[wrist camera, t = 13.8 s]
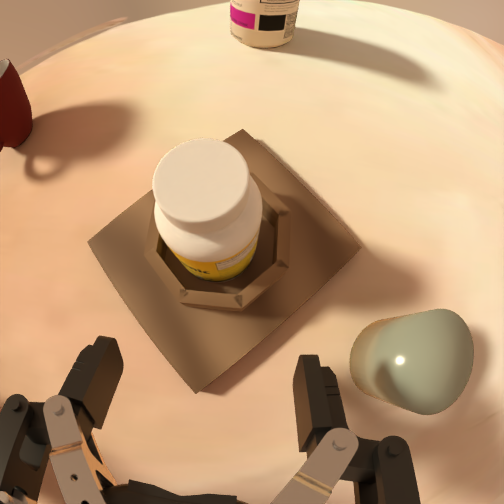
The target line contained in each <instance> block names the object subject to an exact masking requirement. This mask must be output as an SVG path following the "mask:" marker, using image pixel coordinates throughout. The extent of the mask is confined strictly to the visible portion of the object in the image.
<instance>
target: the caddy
mask: <svg viewBox="0 0 504 504" xmlns="http://www.w3.org/2000/svg"><path fill="white" fill-rule="evenodd" d="M223 142H226V143H228V144H230V145H231V146H233V147H234V148H235V149H237V150H238V151H239V152H240V153H241V155H242V156H243V157H244V159H245V161H246V163H247V165H248V169H249V173H250V176H251V177H252V178H253V180H254V181H255V183H256V184H257V186H258V189H259V191H260V194H261V198H262V218H261V224H260V230H259V235H258V240H257V246H256V251H255V255H254V258H253V260H252V262H251V264H250V265H249V266H248V268H247V269H246V270H245V271H244V272H243V273H242V274H241V275H239V276H238V277H236V278H234V279H232V280H229V281H226V282H220V283H213V282H207V281H204V280H201V279H199V278H197V277H196V276H194V275H193V274H192V273H190V272H189V271H188V270H187V269H186V267H185V266H184V265H183V264H182V263H181V262H180V260H179V259H178V258H177V257H176V256H175V254H174V253H173V252H172V251H171V249H170V248H169V247H168V246H167V244H166V243H165V241H164V240H163V238H162V237H161V235H160V233H159V231H158V229H157V226H156V222H155V215H154V208H155V201H156V200H155V197H154V194H153V189H152V190H151V191H150V192H148V193H147V194H146V195H144V196H143V197H142V198H140V199H139V200H138V201H136V202H135V203H134V204H133V205H131V206H130V207H129V208H127V209H126V210H125V211H124V212H122V213H121V214H120V215H119V216H117V217H116V218H115V219H114V220H113V221H111V222H110V223H109V224H108V225H107V226H105V227H104V228H103V229H102V230H101V231H99V232H98V233H97V234H96V235H95V236H94V237H92V238H91V239H90V240H89V241H88V242H87V243H88V244H89V246H90V248H91V250H92V251H93V253H94V255H95V256H96V258H97V260H98V261H99V263H100V265H101V266H102V268H103V270H104V271H105V273H106V275H107V276H108V278H109V279H110V281H111V282H112V284H113V286H114V287H115V289H116V290H117V292H118V293H119V295H120V296H121V298H122V299H123V301H124V302H125V304H126V305H127V307H128V308H129V310H130V311H131V312H132V314H133V315H134V317H135V318H136V320H137V321H138V322H139V324H140V325H141V326H142V328H143V329H144V331H145V332H146V333H147V335H148V336H149V337H150V339H151V340H152V341H153V343H154V344H155V345H156V347H157V348H158V349H159V350H160V352H161V353H162V354H163V355H164V357H165V358H166V359H167V361H168V362H169V363H170V364H171V365H172V367H173V368H174V369H175V370H176V372H177V373H178V374H179V375H180V376H181V378H182V379H183V380H184V381H185V382H186V383H187V385H188V386H189V387H190V388H191V389H192V390H193V391H194V393H195V394H197V393H198V392H199V391H201V390H202V389H203V388H205V387H206V386H207V385H208V384H210V383H211V382H212V381H214V380H215V379H216V378H217V377H219V376H220V375H221V374H222V373H224V372H225V371H226V370H227V369H229V368H230V367H231V366H232V365H233V364H235V363H236V362H237V361H238V360H240V359H241V358H242V357H243V356H244V355H246V354H247V353H248V352H249V351H250V350H252V349H253V348H254V347H255V346H256V345H258V344H259V343H260V342H261V341H262V340H263V339H265V338H266V337H267V336H268V335H269V334H270V333H271V332H273V331H274V330H275V329H276V328H277V327H278V326H279V325H281V324H282V323H283V322H284V321H285V320H286V319H287V318H288V317H290V316H291V315H292V314H293V313H294V312H295V311H296V310H297V309H298V308H300V307H301V306H302V305H303V304H304V303H305V302H306V301H307V300H308V299H309V298H310V297H311V296H313V295H314V294H315V293H316V292H317V291H318V290H319V289H320V288H321V287H322V286H323V285H324V284H325V283H326V282H327V281H328V280H329V279H330V278H332V277H333V276H334V275H335V274H336V273H337V272H338V271H339V270H340V269H341V268H342V267H343V266H344V265H345V264H346V263H347V262H348V261H349V260H350V259H351V258H352V257H353V256H354V255H355V254H356V253H357V252H358V251H359V250H360V249H361V248H362V247H361V246H360V245H359V244H358V243H357V242H356V240H355V239H354V238H353V237H352V236H351V235H350V234H349V233H348V232H347V231H346V229H345V228H344V227H343V226H342V225H341V224H340V223H339V222H338V221H337V220H336V219H335V218H334V217H333V216H332V214H331V213H330V212H329V211H328V210H327V209H326V208H325V207H324V206H323V205H322V204H321V203H320V202H319V201H318V200H317V199H316V198H315V197H314V196H313V195H312V194H311V193H310V192H309V191H308V190H307V189H306V188H305V187H304V186H303V185H302V184H301V183H300V182H299V181H298V180H297V179H296V178H295V177H294V176H293V175H292V174H291V173H290V172H289V171H288V170H287V169H286V168H285V167H284V166H283V165H282V164H281V163H280V162H279V161H277V160H276V159H275V158H274V157H273V156H272V155H271V154H270V153H269V152H268V151H267V150H266V149H265V148H264V147H262V146H261V145H260V144H259V143H258V142H257V141H256V140H255V139H254V138H253V137H251V136H250V135H249V134H248V133H247V132H246V131H245V130H244V129H242V130H240V131H238V132H237V133H235V134H233V135H232V136H230V137H229V138H227V139H225V140H224V141H223Z"/></svg>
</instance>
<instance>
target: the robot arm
mask: <svg viewBox="0 0 504 504" xmlns="http://www.w3.org/2000/svg"><path fill="white" fill-rule="evenodd" d="M122 372H123V359H122V356H121V353H120V350H119V347H118V344H117V341H116V339H115V338H111V337H105V336H98V337H97V339H96V341H95V343H94V344H93V346H92V345H88V346H87V347H86V348H84V349H83V350H82V351H81V352H80V354H79V356H78V357H77V359H76V362H75V363H74V365H73V367H72V369H71V370H70V372H69V374H68V376H67V378H66V380H65V382H64V384H63V386H62V388H61V390H60V392H59V394H58V395H56V396H52V397H50V398H49V399H48V400H47V401H46V402H28V400H27V399H26V398H25V397H24V396H23V395H20V394H14V395H12V396H10V397H9V398H8V399H7V400H6V402H5V404H4V406H3V408H2V410H1V413H0V504H38V503H37V501H38V496H39V492H40V488H41V484H42V480H43V477H44V473H45V469H46V466H47V463H48V459H49V456H50V460H51V464H52V467H53V470H54V473H55V476H56V479H57V482H58V485H59V487H60V490H61V493H62V495H63V498H64V501H65V503H66V504H248V503H245V502H242V501H239V500H237V496H231V495H217V494H202V495H191V496H179V495H176V494H174V493H171V492H169V491H166V490H164V489H162V488H159V487H157V486H155V485H151V484H146V483H142V482H138V481H134V480H130V479H129V483H128V484H121V485H117V483H116V481H115V479H114V478H113V476H112V474H111V473H110V472H109V470H108V468H107V466H106V464H105V462H104V460H103V458H102V455H101V453H100V450H99V448H98V446H97V443H96V441H95V438H94V435H93V433H92V432H91V431H92V429H93V427H94V428H97V429H102V426H103V423H104V420H105V417H106V415H107V412H108V409H109V406H110V404H111V401H112V398H113V396H114V393H115V391H116V388H117V385H118V383H119V380H120V378H121V375H122ZM293 394H294V403H295V413H296V423H297V433H298V443H299V452H307V461H306V462H305V463H304V465H303V466H302V467H301V469H300V470H299V471H298V472H297V473H296V474H295V476H294V477H293V478H292V479H291V480H290V482H289V483H288V484H287V485H286V486H285V488H284V489H283V490H282V491H281V492H280V493H279V494H278V496H277V497H276V498H275V499H274V500H273V501H272V502H271V503H270V504H325V502H326V501H327V500H328V498H329V497H330V495H331V493H332V489H333V488H334V486H335V485H336V483H337V482H338V480H339V479H341V480H347V481H353V483H354V493H355V504H421V503H420V497H419V492H418V487H417V482H416V477H415V472H414V467H413V463H412V458H411V454H410V450H409V446H408V444H407V442H406V441H405V440H404V439H402V438H401V437H398V436H388V437H386V438H384V439H383V440H382V441H375V440H368V439H363V438H360V437H357V436H356V435H355V434H354V433H353V432H352V431H350V430H349V428H348V426H347V422H346V418H345V413H344V409H343V405H342V400H341V396H340V392H339V388H338V383H337V379H336V375H335V374H334V373H333V371H332V370H331V369H330V367H321V366H320V361H319V357H318V355H300V356H299V359H298V363H297V366H296V370H295V374H294V378H293ZM51 449H52V451H51Z"/></svg>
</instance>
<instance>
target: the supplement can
mask: <svg viewBox="0 0 504 504" xmlns="http://www.w3.org/2000/svg"><path fill="white" fill-rule="evenodd" d="M299 1H300V0H231V5H230V31H231V35H232V36H233V37H234V38H235V39H237V40H238V41H239V42H241V43H243V44H245V45H248V46H252V47H258V48H273V47H278V46H281V45H283V44H285V43H287V42H289V41H290V40H291V39H292V37H293V34H294V28H295V23H296V17H297V12H298V6H299Z"/></svg>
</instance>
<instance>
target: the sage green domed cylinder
mask: <svg viewBox="0 0 504 504" xmlns="http://www.w3.org/2000/svg"><path fill="white" fill-rule="evenodd" d="M473 358H474V349H473V341H472V337H471V333H470V331H469V329H468V327H467V325H466V323H465V322H464V320H463V319H462V318H461V317H460V316H459V315H457V314H456V313H455V312H453V311H451V310H447V309H435V310H430V311H425V312H420V313H415V314H410V315H404V316H399V317H393V318H387V319H382V320H378V321H375V322H373V323H371V324H370V325H368V326H367V327H366V328H365V329H364V330H363V331H362V332H361V333H360V334H359V335H358V337H357V338H356V340H355V342H354V344H353V347H352V350H351V354H350V372H351V376H352V379H353V381H354V383H355V385H356V386H357V387H358V388H359V389H360V390H361V391H362V392H363V393H365V394H367V395H369V396H371V397H374V398H376V399H379V400H382V401H384V402H387V403H390V404H392V405H395V406H398V407H401V408H403V409H406V410H409V411H412V412H415V413H418V414H422V415H432V414H436V413H439V412H441V411H443V410H445V409H446V408H448V407H449V406H450V405H452V404H453V403H454V402H455V401H456V400H457V398H458V397H459V396H460V395H461V393H462V392H463V390H464V388H465V386H466V384H467V382H468V380H469V377H470V374H471V370H472V366H473Z"/></svg>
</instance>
